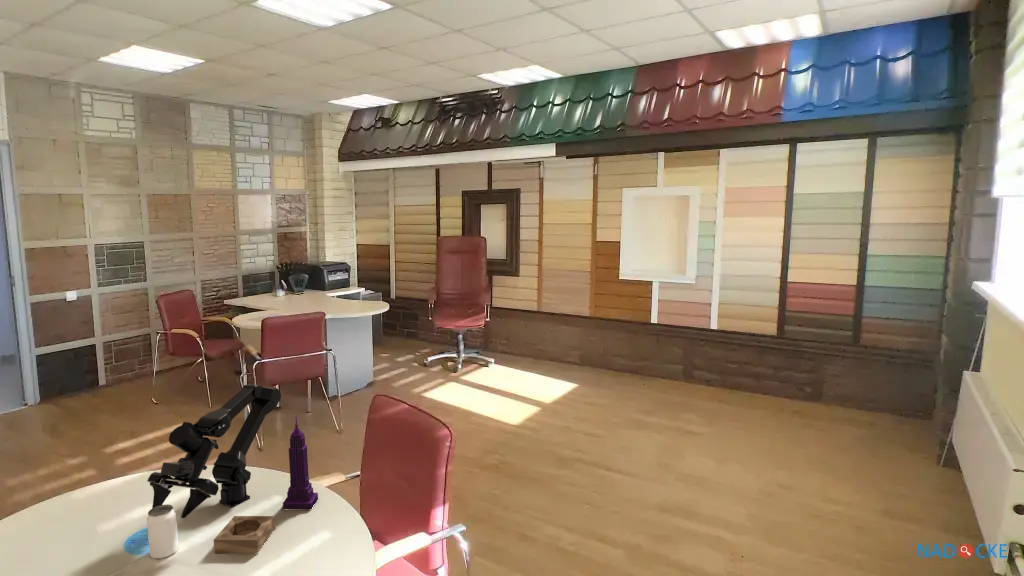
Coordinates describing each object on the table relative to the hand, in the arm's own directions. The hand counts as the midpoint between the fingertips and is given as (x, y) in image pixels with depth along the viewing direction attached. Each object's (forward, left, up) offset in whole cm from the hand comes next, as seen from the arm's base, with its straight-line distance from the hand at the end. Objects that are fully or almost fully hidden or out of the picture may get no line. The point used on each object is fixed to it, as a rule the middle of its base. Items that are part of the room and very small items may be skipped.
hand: (167, 515), depth 151 cm
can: (+2, +1, -9) cm, 10 cm away
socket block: (-12, +15, -9) cm, 21 cm away
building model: (-32, +14, -9) cm, 36 cm away
